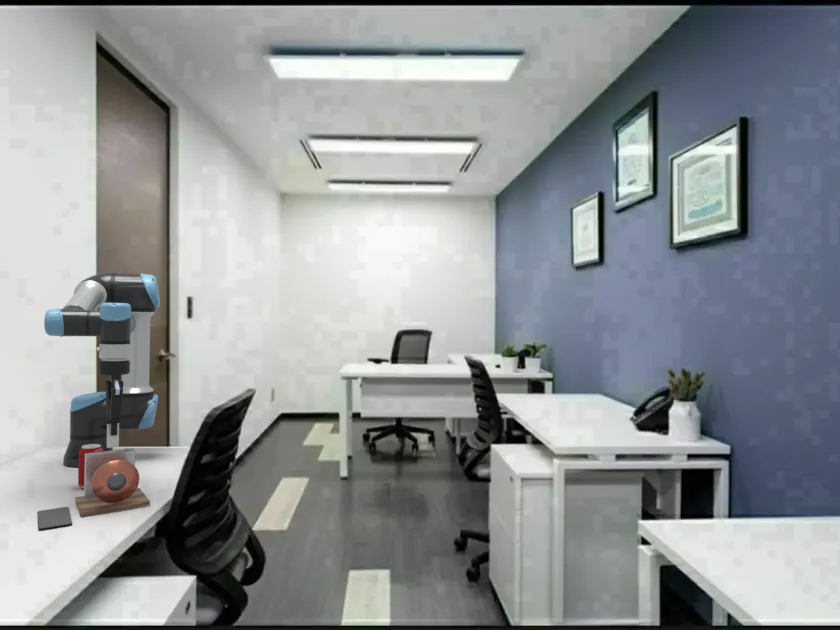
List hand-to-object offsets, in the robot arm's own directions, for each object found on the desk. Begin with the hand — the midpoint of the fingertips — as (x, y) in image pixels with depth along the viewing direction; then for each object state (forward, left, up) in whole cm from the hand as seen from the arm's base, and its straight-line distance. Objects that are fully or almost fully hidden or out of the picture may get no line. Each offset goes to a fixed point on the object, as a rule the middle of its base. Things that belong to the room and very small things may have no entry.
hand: (112, 446), depth 156 cm
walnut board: (+1, 0, -15) cm, 15 cm away
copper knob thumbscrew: (-1, 0, -13) cm, 13 cm away
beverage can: (-19, -3, -16) cm, 25 cm away
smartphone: (+5, -13, -16) cm, 21 cm away
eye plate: (-4, 0, -15) cm, 16 cm away
